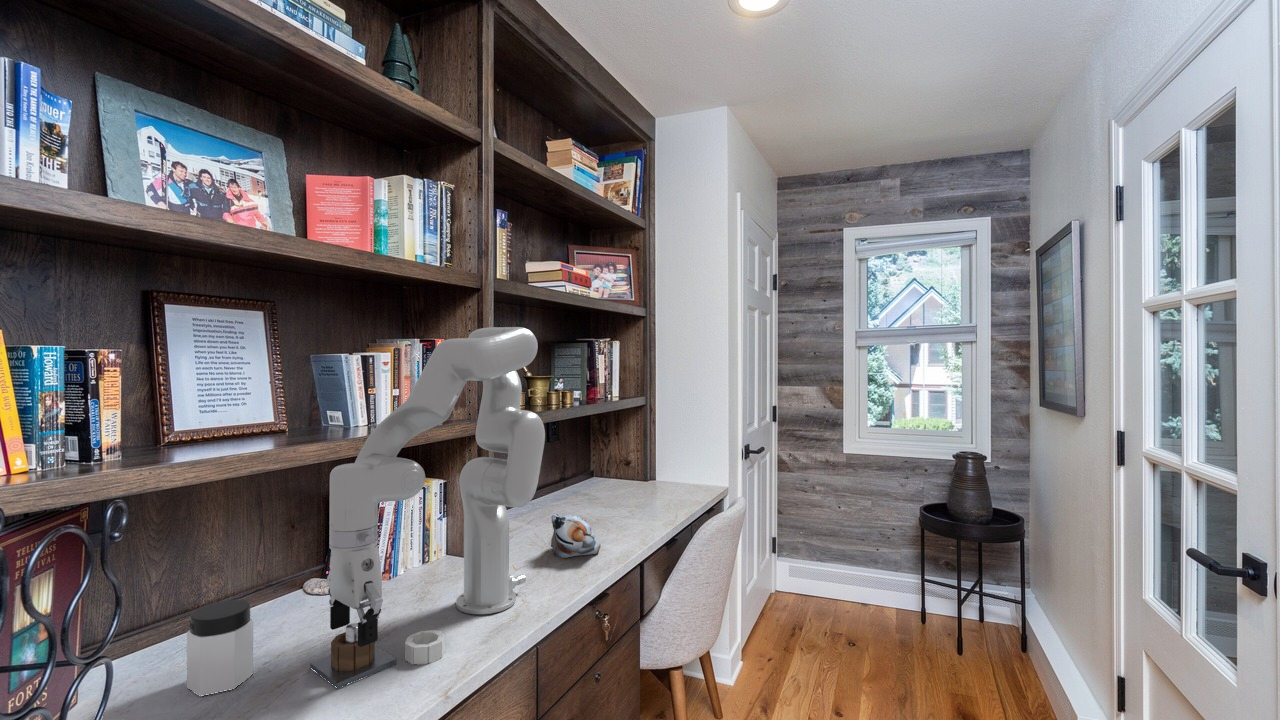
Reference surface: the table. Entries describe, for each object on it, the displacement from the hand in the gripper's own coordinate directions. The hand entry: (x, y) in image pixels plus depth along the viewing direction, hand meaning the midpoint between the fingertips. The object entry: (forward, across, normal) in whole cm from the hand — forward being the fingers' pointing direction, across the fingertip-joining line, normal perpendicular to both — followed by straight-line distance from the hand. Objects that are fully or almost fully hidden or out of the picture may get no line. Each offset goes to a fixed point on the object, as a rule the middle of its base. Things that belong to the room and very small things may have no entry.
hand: (353, 634), depth 103 cm
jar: (+6, +12, +16) cm, 21 cm away
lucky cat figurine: (+6, +11, -66) cm, 68 cm away
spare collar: (+6, -6, -10) cm, 13 cm away
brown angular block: (+4, 0, 0) cm, 4 cm away
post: (+6, 0, 0) cm, 6 cm away
